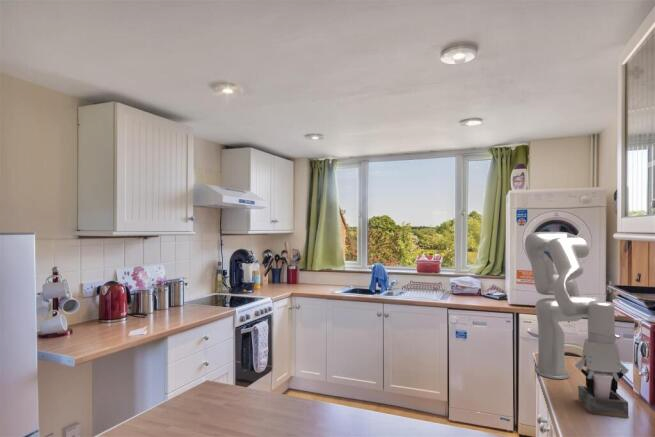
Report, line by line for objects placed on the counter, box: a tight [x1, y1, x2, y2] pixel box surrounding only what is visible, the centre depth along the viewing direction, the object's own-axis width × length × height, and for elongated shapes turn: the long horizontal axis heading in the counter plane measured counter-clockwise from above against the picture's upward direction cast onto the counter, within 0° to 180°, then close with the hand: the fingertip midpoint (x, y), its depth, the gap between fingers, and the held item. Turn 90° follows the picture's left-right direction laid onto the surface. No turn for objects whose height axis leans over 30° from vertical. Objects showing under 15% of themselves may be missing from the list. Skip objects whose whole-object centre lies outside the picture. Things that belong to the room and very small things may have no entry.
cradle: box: [577, 385, 629, 419], centre depth 129 cm, size 11×11×5 cm
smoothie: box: [592, 371, 613, 399], centre depth 130 cm, size 6×6×14 cm
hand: (601, 389), depth 130 cm, fingers closed on smoothie, 6 cm apart
